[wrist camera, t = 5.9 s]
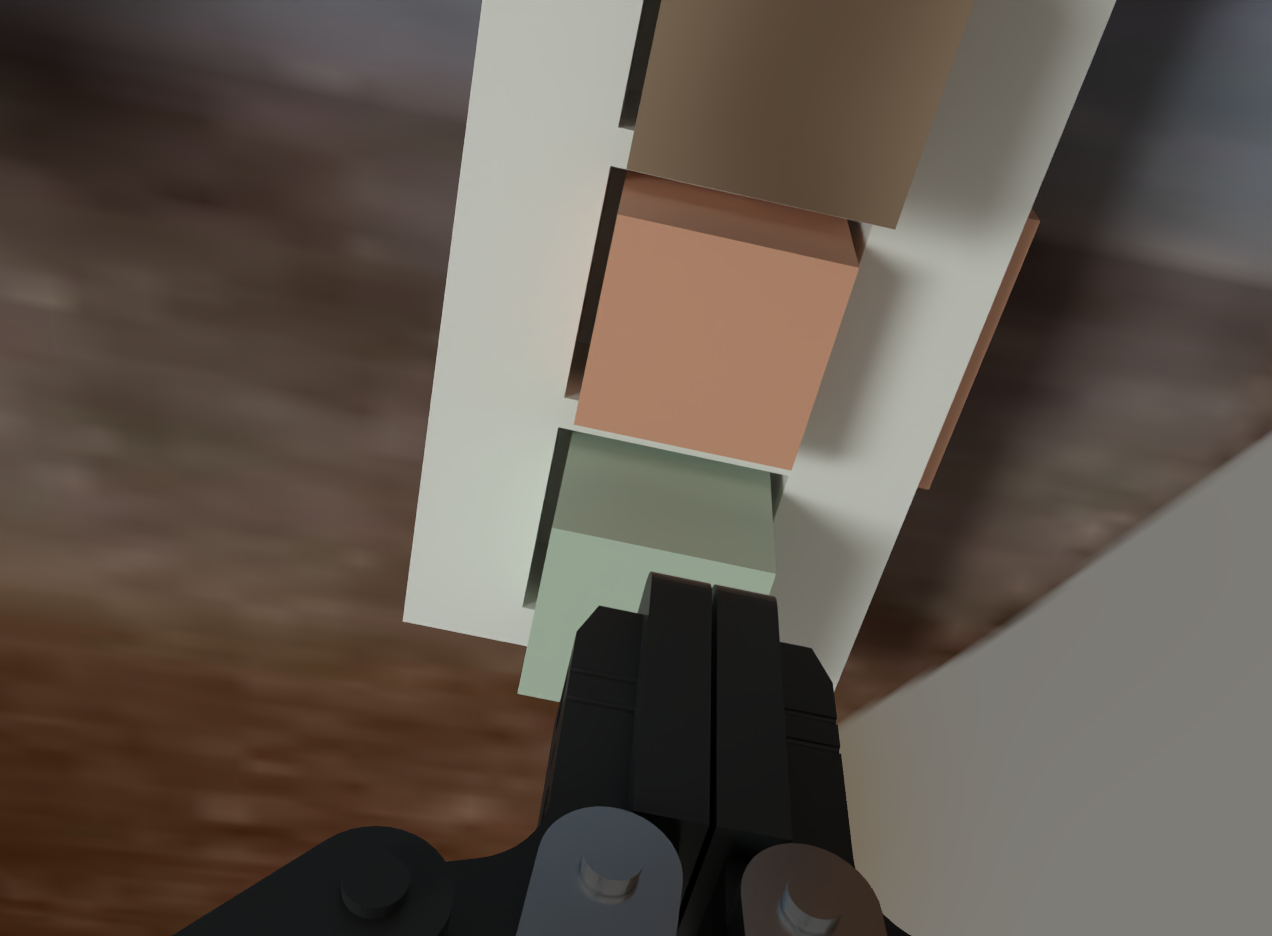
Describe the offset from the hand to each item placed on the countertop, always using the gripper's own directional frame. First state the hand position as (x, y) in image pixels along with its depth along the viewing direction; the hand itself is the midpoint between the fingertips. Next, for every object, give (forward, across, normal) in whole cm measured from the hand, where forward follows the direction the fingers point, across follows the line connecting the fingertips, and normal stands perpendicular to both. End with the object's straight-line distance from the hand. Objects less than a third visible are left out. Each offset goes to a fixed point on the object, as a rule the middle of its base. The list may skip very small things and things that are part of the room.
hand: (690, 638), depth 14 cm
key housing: (+13, 0, 0) cm, 13 cm away
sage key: (+10, 0, +6) cm, 12 cm away
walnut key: (+10, 0, -5) cm, 11 cm away
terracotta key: (+12, 0, 0) cm, 12 cm away
